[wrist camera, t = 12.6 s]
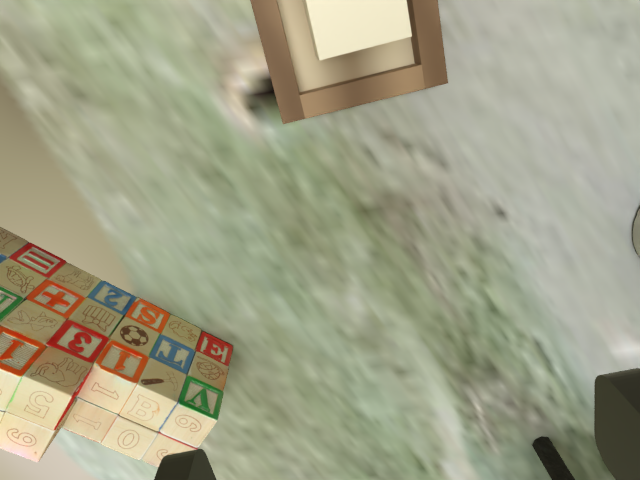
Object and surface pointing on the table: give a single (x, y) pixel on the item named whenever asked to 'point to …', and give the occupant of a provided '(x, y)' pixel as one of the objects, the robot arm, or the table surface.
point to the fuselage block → (355, 24)
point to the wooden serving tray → (346, 61)
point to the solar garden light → (551, 459)
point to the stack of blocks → (98, 363)
